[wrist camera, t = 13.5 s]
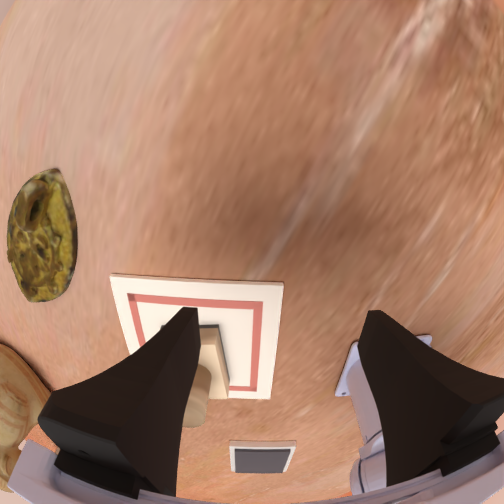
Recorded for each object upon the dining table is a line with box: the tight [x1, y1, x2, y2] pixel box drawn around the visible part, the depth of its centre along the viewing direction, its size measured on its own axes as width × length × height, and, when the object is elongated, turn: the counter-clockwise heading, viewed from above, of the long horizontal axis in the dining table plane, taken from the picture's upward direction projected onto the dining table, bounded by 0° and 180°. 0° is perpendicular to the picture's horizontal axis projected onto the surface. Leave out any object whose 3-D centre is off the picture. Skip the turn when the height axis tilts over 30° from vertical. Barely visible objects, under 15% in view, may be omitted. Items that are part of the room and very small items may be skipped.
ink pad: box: [229, 440, 296, 473], centre depth 32 cm, size 9×11×2 cm
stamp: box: [160, 324, 230, 428], centre depth 20 cm, size 5×7×7 cm
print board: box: [109, 274, 284, 399], centre depth 23 cm, size 14×14×1 cm
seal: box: [7, 169, 77, 302], centre depth 18 cm, size 9×5×15 cm
